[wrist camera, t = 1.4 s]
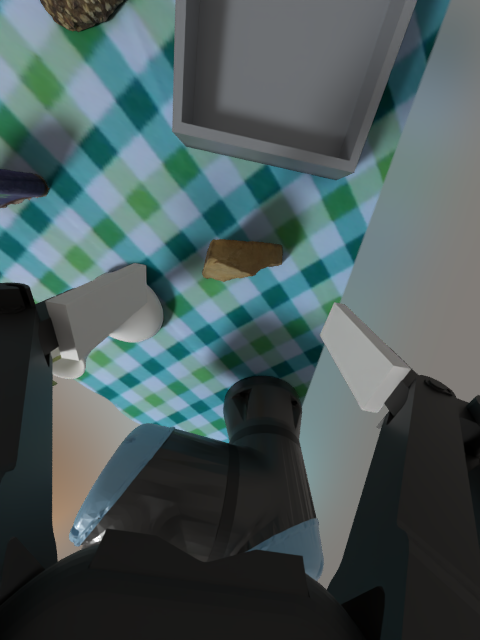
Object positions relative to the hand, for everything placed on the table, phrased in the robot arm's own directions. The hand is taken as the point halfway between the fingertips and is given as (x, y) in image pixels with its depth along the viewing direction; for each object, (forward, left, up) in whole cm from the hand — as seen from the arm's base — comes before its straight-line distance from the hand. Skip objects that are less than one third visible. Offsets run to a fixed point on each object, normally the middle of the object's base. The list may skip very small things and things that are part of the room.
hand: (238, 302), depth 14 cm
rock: (0, 0, -16) cm, 16 cm away
